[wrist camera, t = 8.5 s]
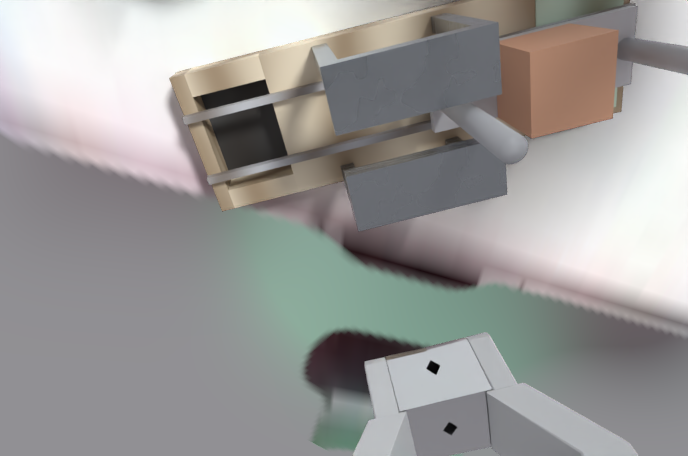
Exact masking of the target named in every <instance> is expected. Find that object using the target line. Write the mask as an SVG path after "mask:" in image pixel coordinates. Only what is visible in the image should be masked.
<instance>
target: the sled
mask: <svg viewBox="0 0 688 456" xmlns="http://www.w3.org/2000/svg"><path fill="white" fill-rule="evenodd" d="M637 7H638V6H626V7H622V8H618V9H614V10H610V11H606V12H602V13H598V14H594V15H590V16H586V17H582V18H578V19H574V20H570V21H566V22H562V23H558V24H554V25H550V26H546V27H542V28H538V29H534V30H531V31H527V32H523V33H519V34H515V35H511V36H507V37H503V38H499V43H500V63H501V83H502V94H501V95H497V96H493V97H489V98H485V99H481V100H477V101H473V102H469V103H465V104H461V105H457V106H453V107H449V108H445V109H441V110H437V111H433V112H430V119H431V126H432V130H433V131H434V132H435V133H438V132H442V131H446V130H450V129H454V128H458V127H461V128H462V129H463V130H465V131H466V132H467V133H468V134H469V135H471V136H472V137H473V138H474V139H475V140H477V141H478V142H479V143H480V144H482V145H483V146H484V147H485V148H486V149H488V150H489V151H490V152H491V153H492V154H494V155H495V156H496V157H497V158H499V159H500V160H501V161H502V162H504V163H506V164H514V163H517V162H519V161H520V160H522V159H523V158H524V156H525V155H526V153H527V151H528V142H527V140H526V138H525V137H524V136H522V135H521V134H519V133H517V132H516V131H514V130H513V129H511V128H510V127H508V126H507V125H505V124H503V123H502V122H500V121H499V120H497V119H496V118H497V117H498V118H500V119H501V120H503V121H504V122H506V123H508V124H509V125H511V126H512V127H514V128H516V129H517V130H519V131H520V132H522V133H524V134H525V135H527V136H528V137H530V138H531V139H532V138H536V137H540V136H544V135H548V134H552V133H556V132H560V131H564V130H568V129H572V128H576V127H580V126H584V125H588V124H592V123H596V122H600V121H604V120H608V119H612V118H613V109H614V94H615V88H617V87H621V86H625V85H629V84H631V77H632V66H633V63H638V64H642V65H647V66H651V67H655V68H660V69H664V70H669V71H673V72H678V73H682V74H686V75H688V47H687V46H681V45H674V44H668V43H662V42H655V41H649V40H642V39H636V38H635V31H636V19H637Z"/></svg>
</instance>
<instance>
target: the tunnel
mask: <svg viewBox="0 0 688 456" xmlns="http://www.w3.org/2000/svg"><path fill="white" fill-rule="evenodd" d="M431 25H432V33H435V34H436V35H432V36H428V37H424V38H420V39H416V40H413V41H409V42H405V43H401V44H397V45H393V46H389V47H385V48H381V49H377V50H373V51H369V52H365V53H361V54H357V55H353V56H349V57H345V58H341V59H337V58H336V56H335V55H334V53H333V52H332V51H331V49H330V48H329V46H328V45H327V43H324V44H320V45H316V46H312V51H313V55H314V59H315V63H316V66H317V68H318V71H319V74H320V77H321V79H322V82H323V85H324V90H325V94H326V98H327V102H328V106H329V111H330V115H331V119H332V123H333V127H334V131H335V134H336V136H338V135H342V134H346V133H350V132H354V131H358V130H362V129H366V128H370V127H374V126H378V125H382V124H386V123H390V122H394V121H398V120H402V119H406V118H410V117H414V116H418V115H422V114H426V113H429V112H433V111H437V110H441V109H445V108H449V107H453V106H457V105H461V104H465V103H469V102H473V101H477V100H481V99H485V98H489V97H493V96H497V95H501V94H502V83H501V63H500V43H499V24H498V22H494V21H489V20H483V19H478V18H472V17H466V16H461V15H455V14H450V13H442V14H438V15H435V16H431ZM340 167H341V171H342V175H343V179H344V183H345V186H346V190H347V193H348V197H349V200H350V203H351V207H352V210H353V214H354V217H355V221H356V224H357V228H358V231H363V230H367V229H371V228H375V227H379V226H383V225H387V224H391V223H395V222H399V221H403V220H407V219H411V218H415V217H419V216H423V215H427V214H431V213H435V212H439V211H443V210H447V209H451V208H455V207H459V206H463V205H467V204H471V203H475V202H479V201H483V200H487V199H491V198H495V197H499V196H503V195H507V182H506V163H504V162H502V161H501V160H500V159H499V158H497V157H496V156H495V155H494V154H492V153H491V152H490V151H489V150H488V149H486V148H485V147H484V146H483V145H482V144H480V143H479V142H478V141H477V140H475V139H474V138H472V139H468V140H464V141H463V140H462V139H461V138H459V137H458V136H457V137H453V138H449V139H445V145H444V146H440V147H436V148H432V149H428V150H424V151H420V152H416V153H412V154H408V155H404V156H400V157H396V158H392V159H388V160H384V161H380V162H376V163H372V164H368V165H364V166H360V167H356V168H355V166H354V163H349V164H345V165H341V166H340Z"/></svg>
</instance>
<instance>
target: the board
mask: <svg viewBox="0 0 688 456" xmlns="http://www.w3.org/2000/svg"><path fill="white" fill-rule="evenodd" d="M635 5H636V3H630V0H459V1H455V2H452V3H448V4H444V5H440V6H436V7H432V8H428V9H424V10H420V11H416V12H412V13H408V14H404V15H400V16H396V17H392V18H388V19H384V20H380V21H377V22H373V23H369V24H365V25H361V26H357V27H353V28H349V29H345V30H341V31H337V32H333V33H329V34H325V35H321V36H317V37H313V38H309V39H305V40H302V41H298V42H294V43H290V44H286V45H282V46H278V47H274V48H270V49H266V50H262V51H258V52H254V53H250V54H246V55H242V56H238V57H234V58H230V59H227V60H223V61H219V62H215V63H211V64H207V65H203V66H199V67H195V68H191V69H187V70H183V71H179V72H177V73H175V74H174V75H173V76H172V77H170V78H169V79H170V82H171V84H172V87H173V89H174V92H175V94H176V97H177V99H178V102H179V104H180V107H181V109H182V112H183V114H184V116H183V117H182V118H183V121H184V123H185V125H187V124H188V127H189V129H190V132H191V134H192V137H193V139H194V142H195V144H196V147H197V150H198V152H199V155H200V157H201V160H202V162H203V165H204V167H205V170H206V172H207V175H208V176H207V181H208V183H209V185H212V187H213V190H214V192H215V195H216V197H217V200H218V202H219V205H220V207H221V210H222V211H226V210H230V209H234V208H238V207H242V206H246V205H250V204H254V203H258V202H262V201H266V200H270V199H274V198H278V197H282V196H286V195H290V194H294V193H298V192H302V191H306V190H310V189H314V188H318V187H322V186H326V185H330V184H334V183H338V182H342V181H344V179H343V175H342V171H341V167H340V166H341V165H345V164H349V163H354V166H355V168H356V167H360V166H364V165H368V164H372V163H376V162H380V161H384V160H388V159H392V158H396V157H400V156H404V155H408V154H412V153H416V152H420V151H424V150H428V149H432V148H436V147H440V146H444V145H445V139H449V138H453V137H457V136H458V137H459V138H461V139H462V140H463V141H464V140H468V139H472V138H473V137H472V136H471V135H469V134H468V133H467V132H466V131H465V130H463V129H462V128H461V127H458V128H454V129H450V130H446V131H442V132H438V133H435V132H434V131H433V130H432V126H431V119H430V112H429V113H426V114H422V115H418V116H414V117H410V118H406V119H402V120H398V121H394V122H390V123H386V124H382V125H378V126H374V127H370V128H366V129H362V130H358V131H354V132H350V133H346V134H342V135H338V136H336V134H335V131H334V127H333V123H332V119H331V115H330V111H329V106H328V102H327V98H326V94H325V90H324V85H323V82H322V79H321V77H320V74H319V71H318V68H317V66H316V63H315V59H314V55H313V51H312V46H316V45H320V44H324V43H327V45H328V46H329V48H330V49H331V51H332V52H333V53H334V55H335V56H336V58H337V59H341V58H345V57H349V56H353V55H357V54H361V53H365V52H369V51H373V50H377V49H381V48H385V47H389V46H393V45H397V44H401V43H405V42H409V41H413V40H416V39H420V38H424V37H428V36H432V35H436V34H435V33H432V25H431V16H435V15H438V14H442V13H450V14H455V15H461V16H466V17H472V18H478V19H483V20H489V21H494V22H498V24H499V38H503V37H507V36H511V35H515V34H519V33H523V32H527V31H531V30H534V29H538V28H542V27H546V26H550V25H554V24H558V23H562V22H566V21H570V20H574V19H578V18H582V17H586V16H590V15H594V14H598V13H602V12H606V11H610V10H614V9H618V8H622V7H626V6H635ZM622 96H623V86H621V87H617V88H615V94H614V109H613V113H617V112H621V109H622ZM496 119H497V120H499V121H500V122H502V123H503V124H505V125H507V126H508V127H510V128H511V129H513V130H514V131H516V132H517V133H519V134H521V135H522V136H525V134H524V133H522V132H520V131H519V130H517V129H516V128H514V127H512V126H511V125H509V124H508V123H506V122H504V121H503V120H501V119H500V118H498V117H497V118H496Z"/></svg>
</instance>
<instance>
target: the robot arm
mask: <svg viewBox="0 0 688 456" xmlns="http://www.w3.org/2000/svg"><path fill="white" fill-rule="evenodd" d="M386 362H387V363H386ZM387 366H388V367H387ZM388 370H389V371H388ZM365 372H366V377H367V382H368V387H369V392H370V397H371V402H372V407H373V412H374V418H375V419H371V420H368V423H367V425H366V427H365V429H364V431H363V433H362V436H361V438H360V440H359V442H358V444H357V446H356V449H355V451H354V453H353V455H352V456H451V455H454V454H459V453H464V452H469V451H473V450H478V449H483V448H487V447H492V449H493V450H494V451H495V452H497V453H498V454H499V455H500V456H639V455H638V454H637V452H636V451H635V450H634V448H633V447H632V446H631V444H630V443H629V442H628V441H626V440H624V439H622V438H621V437H619V436H617V435H615V434H613V433H612V432H610V431H608V430H607V429H605V428H603V427H601V426H599V425H598V424H596V423H594V422H592V421H591V420H589V419H587V418H585V417H583V416H582V415H580V414H578V413H576V412H575V411H573V410H571V409H569V408H568V407H566V406H564V405H562V404H561V403H559V402H557V401H556V400H554V399H552V398H550V397H548V396H547V395H545V394H543V393H541V392H540V391H538V390H536V389H534V388H532V387H531V386H529V385H527V384H526V383H521V384H517V382H516V380H515V378H514V377H513V375H512V373H511V372H510V370H509V368H508V366H507V365H506V363H505V361H504V359H503V357H502V356H501V354H500V352H499V351H498V349H497V347H496V345H495V344H494V342H493V340H492V338H491V337H490V335H489V334H488V333H486V332H485V333H480V334H477V335H473V336H469V337H466V338H461V339H457V340H453V341H449V342H445V343H441V344H437V345H433V346H429V347H425V348H422V349H418V350H413V351H409V352H404V353H399V354H395V355H390V356H386V359H385V357H383V358H378V359H374V360H369V361H365Z"/></svg>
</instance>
